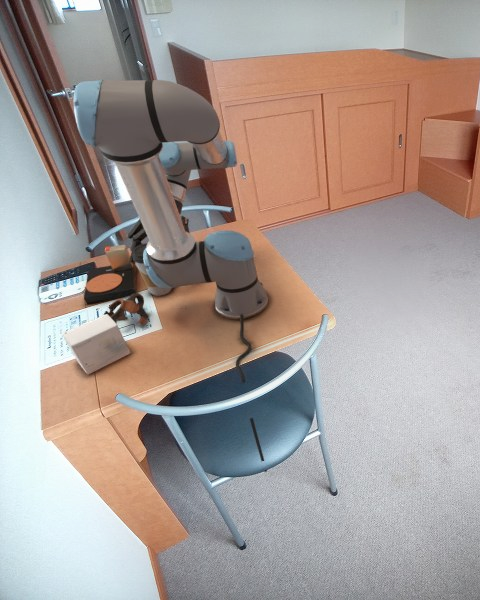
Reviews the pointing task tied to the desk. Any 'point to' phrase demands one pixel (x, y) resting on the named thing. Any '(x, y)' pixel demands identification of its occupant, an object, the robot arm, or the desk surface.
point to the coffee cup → (142, 269)
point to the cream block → (118, 257)
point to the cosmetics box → (96, 343)
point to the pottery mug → (128, 309)
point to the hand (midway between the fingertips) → (153, 266)
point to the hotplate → (120, 291)
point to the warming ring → (104, 283)
